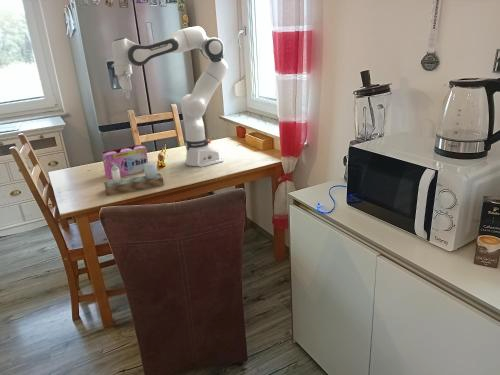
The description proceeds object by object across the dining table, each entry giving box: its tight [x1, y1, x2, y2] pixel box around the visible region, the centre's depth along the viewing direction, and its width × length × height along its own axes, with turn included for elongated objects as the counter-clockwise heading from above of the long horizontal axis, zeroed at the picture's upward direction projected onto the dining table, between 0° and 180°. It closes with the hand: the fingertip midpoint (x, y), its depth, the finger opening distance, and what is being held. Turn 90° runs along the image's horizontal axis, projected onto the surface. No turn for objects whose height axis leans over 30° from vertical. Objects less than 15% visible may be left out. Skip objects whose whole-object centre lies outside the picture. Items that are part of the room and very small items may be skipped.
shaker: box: [111, 166, 122, 184], centre depth 195 cm, size 4×4×9 cm
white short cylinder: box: [143, 161, 158, 179], centre depth 202 cm, size 6×6×7 cm
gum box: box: [101, 144, 149, 180], centre depth 221 cm, size 24×8×14 cm, turn 124°
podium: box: [104, 173, 165, 196], centre depth 201 cm, size 28×8×4 cm, turn 114°
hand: (126, 97), depth 216 cm, fingers open, 8 cm apart
